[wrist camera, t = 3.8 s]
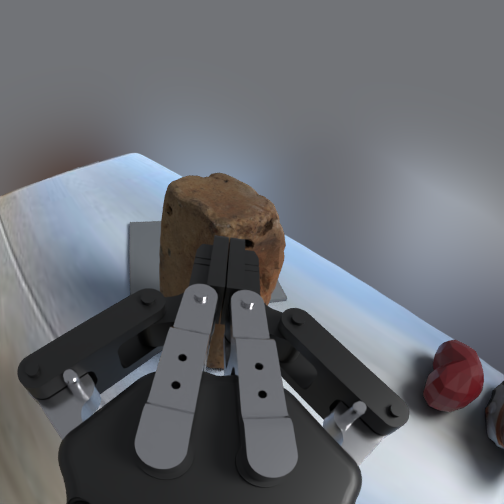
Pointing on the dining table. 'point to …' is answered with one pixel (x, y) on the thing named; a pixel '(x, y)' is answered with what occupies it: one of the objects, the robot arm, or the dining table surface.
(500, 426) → the lucky cat figurine
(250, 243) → the block
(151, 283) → the mat
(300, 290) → the dining table surface
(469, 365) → the heart
